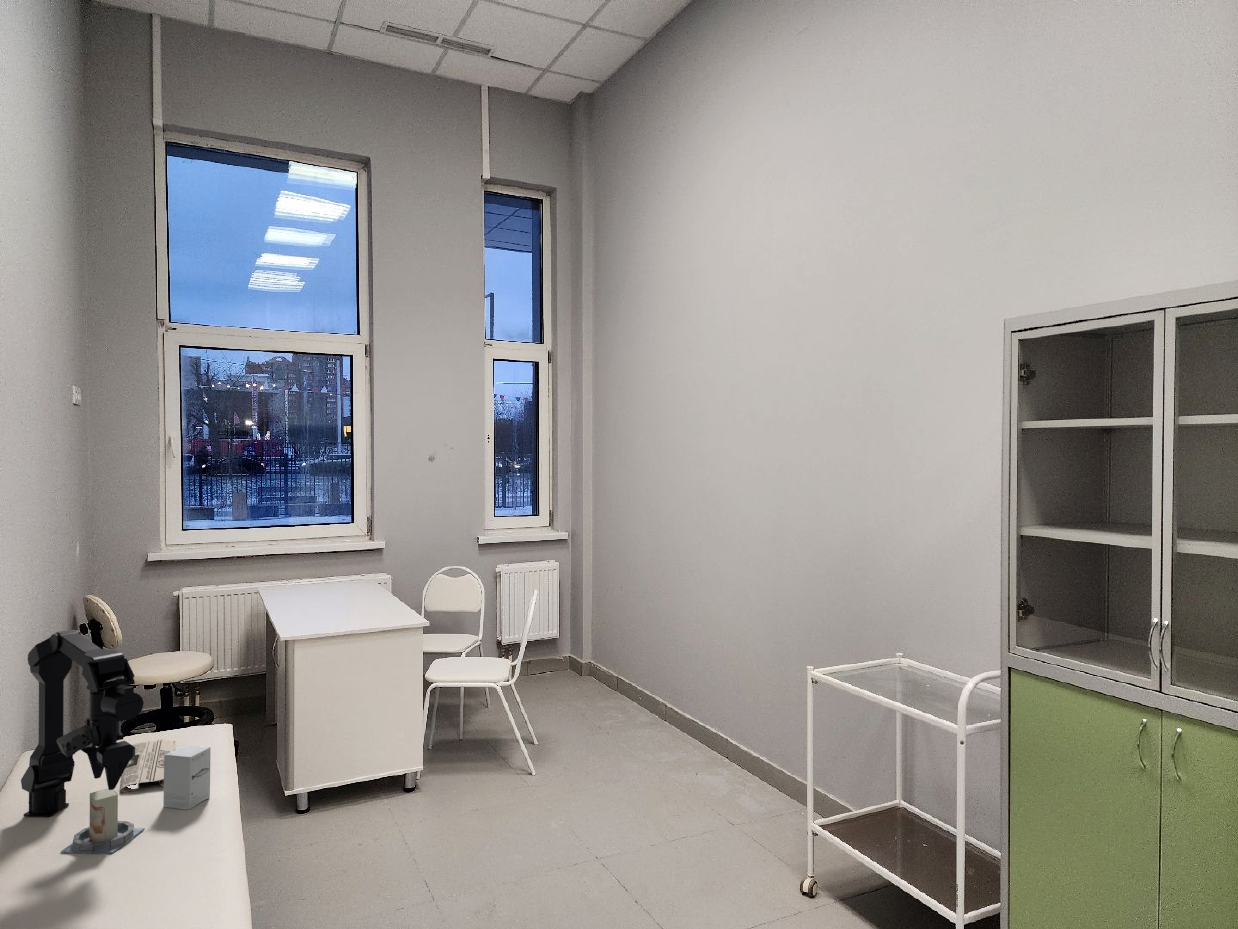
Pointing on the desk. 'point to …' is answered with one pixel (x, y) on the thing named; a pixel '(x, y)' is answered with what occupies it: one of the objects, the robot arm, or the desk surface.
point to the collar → (103, 847)
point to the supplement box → (186, 777)
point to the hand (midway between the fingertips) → (104, 783)
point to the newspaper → (146, 763)
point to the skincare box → (103, 815)
